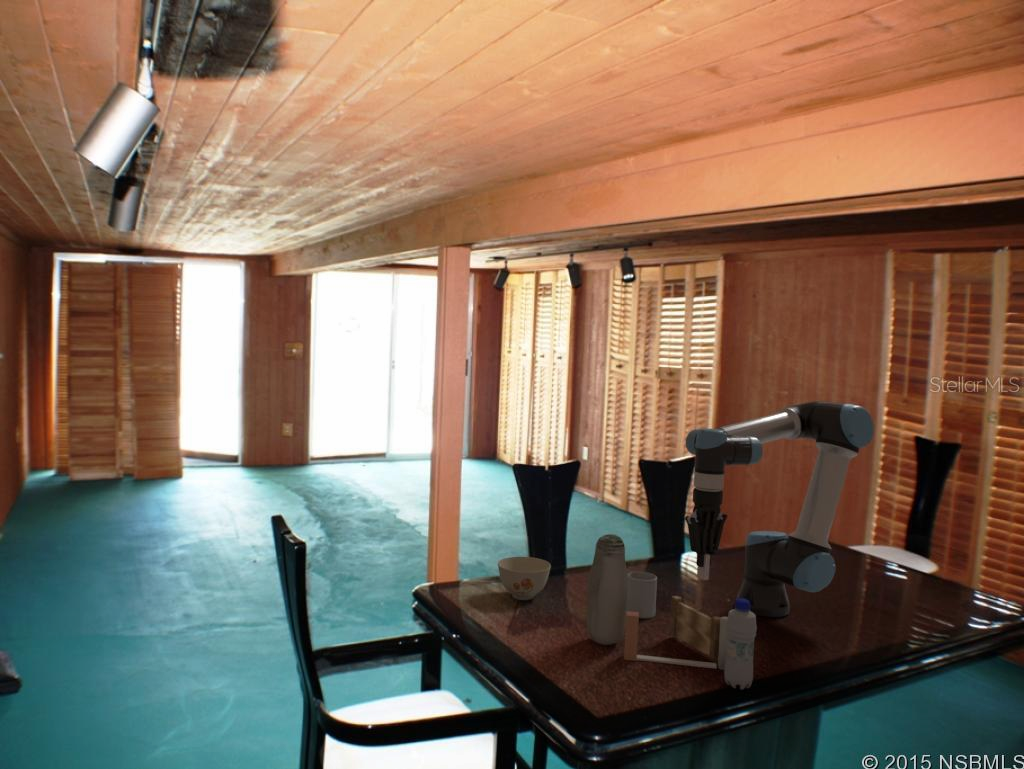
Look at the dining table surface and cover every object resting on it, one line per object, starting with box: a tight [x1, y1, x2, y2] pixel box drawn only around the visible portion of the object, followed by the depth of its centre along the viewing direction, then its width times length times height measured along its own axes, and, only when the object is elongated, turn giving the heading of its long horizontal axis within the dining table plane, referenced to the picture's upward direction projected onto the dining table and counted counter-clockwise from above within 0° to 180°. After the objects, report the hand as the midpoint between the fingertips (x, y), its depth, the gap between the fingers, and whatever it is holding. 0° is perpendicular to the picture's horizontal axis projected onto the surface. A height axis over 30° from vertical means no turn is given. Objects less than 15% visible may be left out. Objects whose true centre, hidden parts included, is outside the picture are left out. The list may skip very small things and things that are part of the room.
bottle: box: [723, 598, 758, 690], centre depth 172 cm, size 7×7×20 cm
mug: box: [627, 571, 658, 619], centre depth 218 cm, size 12×8×11 cm
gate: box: [669, 595, 721, 660], centre depth 192 cm, size 18×2×10 cm, turn 25°
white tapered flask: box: [585, 533, 629, 646], centre depth 194 cm, size 10×10×28 cm
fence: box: [623, 611, 728, 671], centre depth 183 cm, size 26×3×12 cm, turn 80°
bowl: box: [497, 556, 552, 601], centre depth 227 cm, size 16×16×10 cm
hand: (702, 578), depth 196 cm, fingers closed
